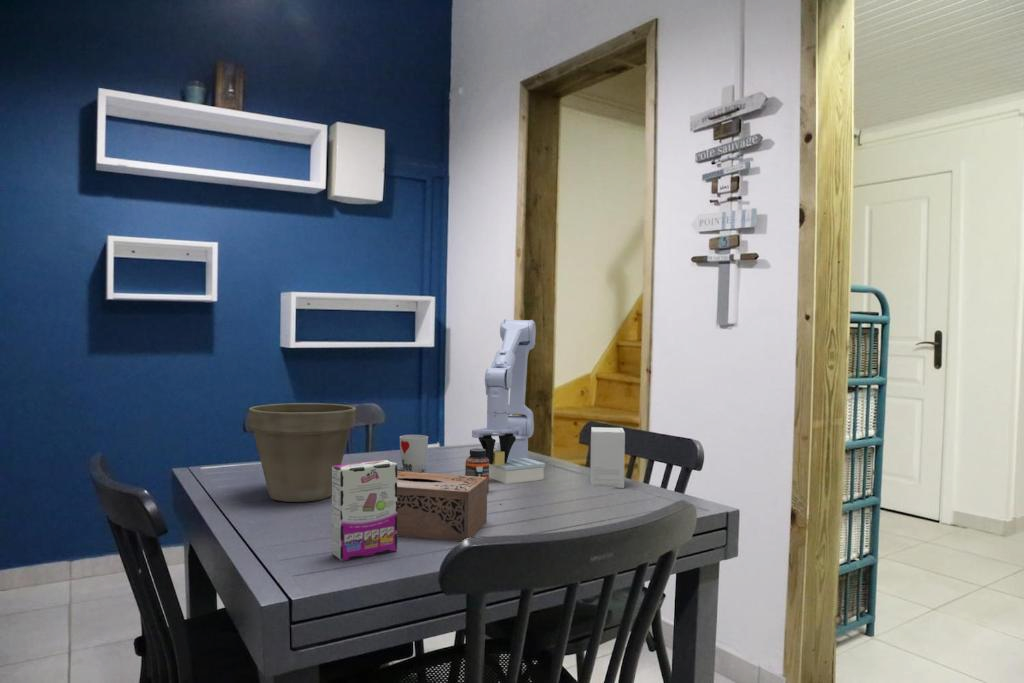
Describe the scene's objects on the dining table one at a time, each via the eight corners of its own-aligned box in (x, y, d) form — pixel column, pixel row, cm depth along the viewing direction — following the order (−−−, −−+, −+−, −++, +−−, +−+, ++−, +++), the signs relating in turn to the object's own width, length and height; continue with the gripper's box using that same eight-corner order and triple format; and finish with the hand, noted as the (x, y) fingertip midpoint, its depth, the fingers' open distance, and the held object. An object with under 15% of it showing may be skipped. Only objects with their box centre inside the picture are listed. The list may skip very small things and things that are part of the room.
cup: (395, 469, 207) (396, 435, 207) (422, 467, 211) (423, 434, 211) (403, 475, 200) (404, 439, 200) (431, 473, 204) (432, 438, 203)
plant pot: (305, 480, 191) (306, 399, 191) (375, 492, 179) (376, 405, 178) (224, 498, 170) (226, 407, 170) (298, 514, 157) (299, 415, 157)
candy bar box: (385, 544, 137) (387, 458, 136) (397, 551, 133) (399, 463, 132) (329, 554, 130) (330, 464, 130) (340, 562, 126) (341, 469, 126)
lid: (482, 464, 196) (483, 449, 196) (525, 460, 203) (526, 445, 203) (501, 471, 188) (501, 454, 187) (545, 466, 195) (545, 450, 195)
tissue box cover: (345, 532, 145) (345, 483, 145) (374, 514, 159) (374, 469, 159) (467, 543, 139) (468, 492, 139) (486, 523, 154) (487, 477, 153)
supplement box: (622, 481, 198) (624, 427, 197) (624, 488, 189) (625, 431, 189) (589, 480, 199) (590, 426, 198) (590, 487, 190) (591, 430, 189)
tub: (488, 479, 196) (488, 465, 196) (525, 475, 203) (525, 461, 203) (506, 486, 189) (506, 471, 189) (543, 481, 195) (543, 467, 195)
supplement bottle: (485, 498, 175) (486, 452, 175) (462, 496, 176) (462, 450, 176) (491, 492, 181) (492, 448, 181) (468, 491, 182) (469, 446, 182)
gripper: (481, 415, 185) (480, 467, 185) (528, 412, 193) (527, 463, 193) (468, 412, 191) (467, 463, 191) (514, 409, 199) (513, 458, 199)
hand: (496, 462), depth 192 cm, fingers open, 4 cm apart
